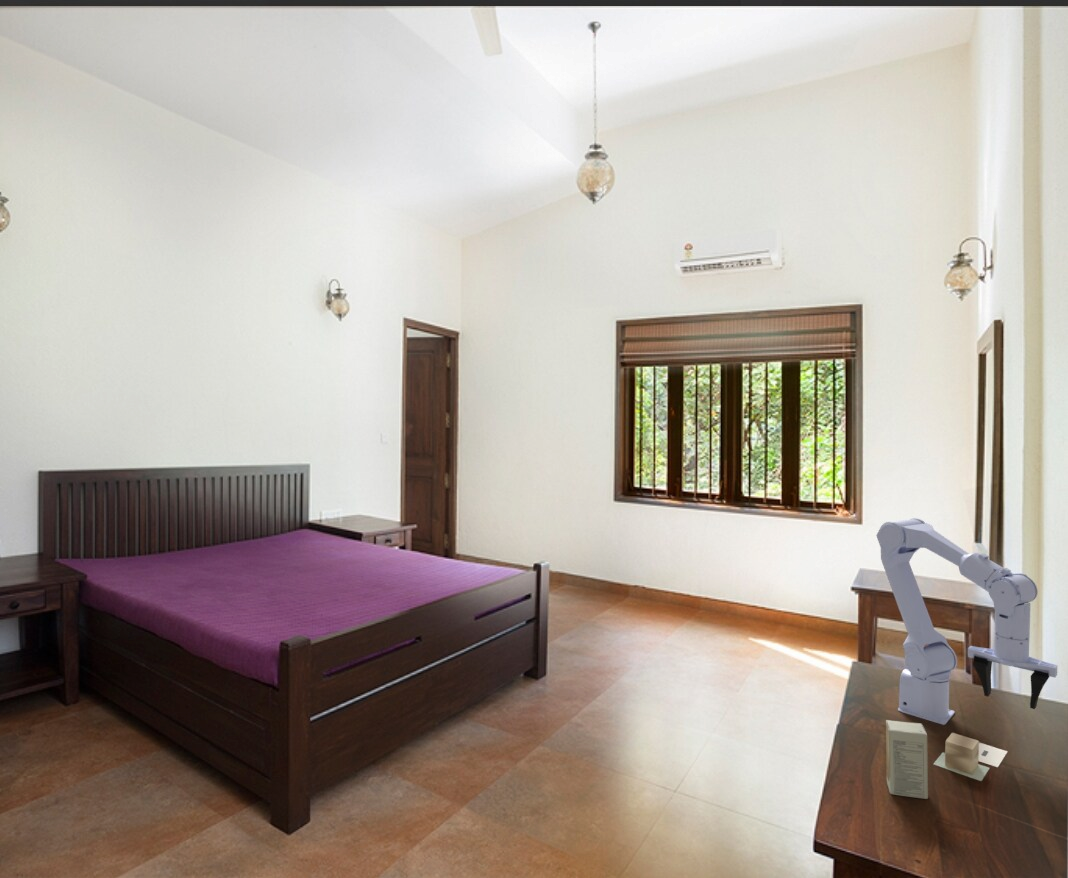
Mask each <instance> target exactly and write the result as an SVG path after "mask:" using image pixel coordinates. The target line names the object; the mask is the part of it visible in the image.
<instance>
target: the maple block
mask: <svg viewBox="0 0 1068 878" xmlns="http://www.w3.org/2000/svg"><path fill="white" fill-rule="evenodd" d="M979 743H980V741H979V740H977V739H974V738H971V737H969V736H964V735H961V734H958V733H955V732H951V733H950V735H949V736H948V737H947V738H946V740H945V743H944V744H945V749H944V753H945V766H947V767H950V768H953V769H956V770H959V771H961V772H964V773H967V774H970V775H972V774H973V773H974V771H975V770H976V768H977V767H978V764H979V761H978V756H979Z"/></svg>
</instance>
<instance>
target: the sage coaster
mask: <svg viewBox="0 0 1068 878" xmlns="http://www.w3.org/2000/svg"><path fill="white" fill-rule="evenodd" d="M933 765H934V766H936V767H938V768H939V767H940V768H942V769H944V770H945V769H946V770H947V771H951V772H954V773H957V774H959V775H962V776H965V777H968V778H970V779H974V780H977V781H979V782H982V781H983V779H984V778H985V777H986V775H987V774H988V772H989V770H990V769H991V768H990V766H989V767H988V766H985V765H983V764H980V763H978V767H977V768H976V770H975V771H974V773H973V774H972V775H970V774H967V773H964V772H961V771H959V770H956V769H953V768H950V767H947V766H945V751H944V752H941V754H940V755H939V756H938V757H937V759H936V760H935V761H934V763H933Z"/></svg>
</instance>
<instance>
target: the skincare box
mask: <svg viewBox="0 0 1068 878" xmlns="http://www.w3.org/2000/svg"><path fill="white" fill-rule="evenodd" d="M885 743H886V744H885V745H886V749H885V750H886V751H885V752H886V755H885V756H886V757H885V758H886V762H885V763H886V767H885V769H886V784H887V787H888V792H889V794H890V795H894V796H895V795H896V796H900V797H901V796H902V797H907V798H908V797H909V798H917V799H923V800H924V799H925V800H927V799H928V798H929V792H928V791H929V785H928V784H929V782H928V781H929V779H928V778H929V777H928V734H927V731H926V728H925V726H924V725H923V723H919V722H913V721H912V722H911V721H910V722H909V721H900V720H890V719H886V720H885ZM928 800H929V799H928Z"/></svg>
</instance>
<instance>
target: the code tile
mask: <svg viewBox="0 0 1068 878" xmlns="http://www.w3.org/2000/svg"><path fill="white" fill-rule="evenodd" d="M1007 753H1008V750H1004V749H1001V748H997V747H994V746H993V745H988V744H985V743H983V742H979V756H978V762H980V763H984V764H987V765H989V766H992V767H996V768H998V767H999V766H1000V764H1001V763H1002V761H1003V760H1004V758H1005V756H1006V755H1007Z"/></svg>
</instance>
